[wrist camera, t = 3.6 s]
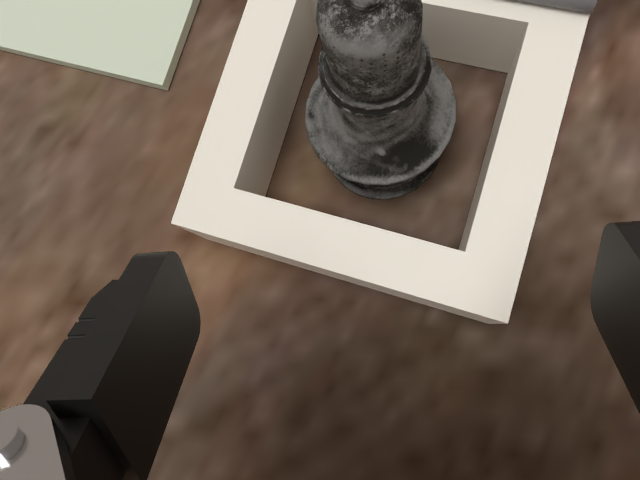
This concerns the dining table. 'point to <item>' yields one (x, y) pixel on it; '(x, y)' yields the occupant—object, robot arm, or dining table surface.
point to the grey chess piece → (378, 97)
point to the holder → (367, 241)
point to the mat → (101, 35)
